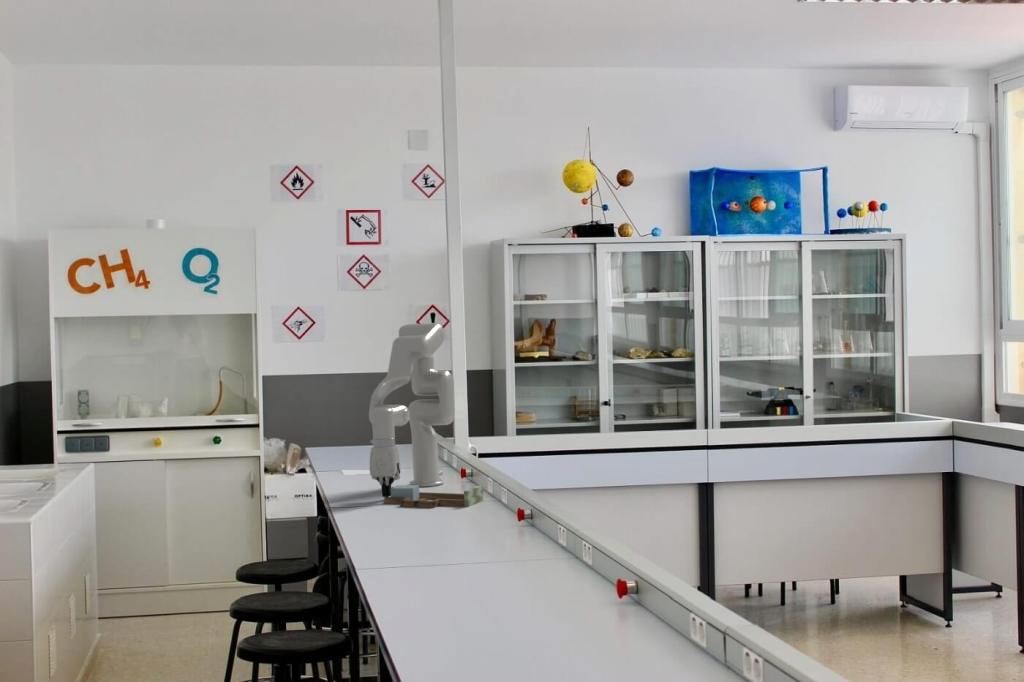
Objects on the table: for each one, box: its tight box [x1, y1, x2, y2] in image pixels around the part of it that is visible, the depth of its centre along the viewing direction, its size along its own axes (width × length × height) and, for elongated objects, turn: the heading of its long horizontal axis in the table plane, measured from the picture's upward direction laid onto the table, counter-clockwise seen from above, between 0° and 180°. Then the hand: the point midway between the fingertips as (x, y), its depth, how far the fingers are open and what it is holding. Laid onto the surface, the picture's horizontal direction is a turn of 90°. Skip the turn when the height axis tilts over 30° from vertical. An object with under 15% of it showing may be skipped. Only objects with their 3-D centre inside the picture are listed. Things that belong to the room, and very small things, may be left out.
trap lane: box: [383, 485, 485, 509], centre depth 370 cm, size 16×32×5 cm, turn 66°
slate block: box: [390, 484, 420, 500], centre depth 377 cm, size 6×8×5 cm
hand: (386, 496), depth 380 cm, fingers closed
